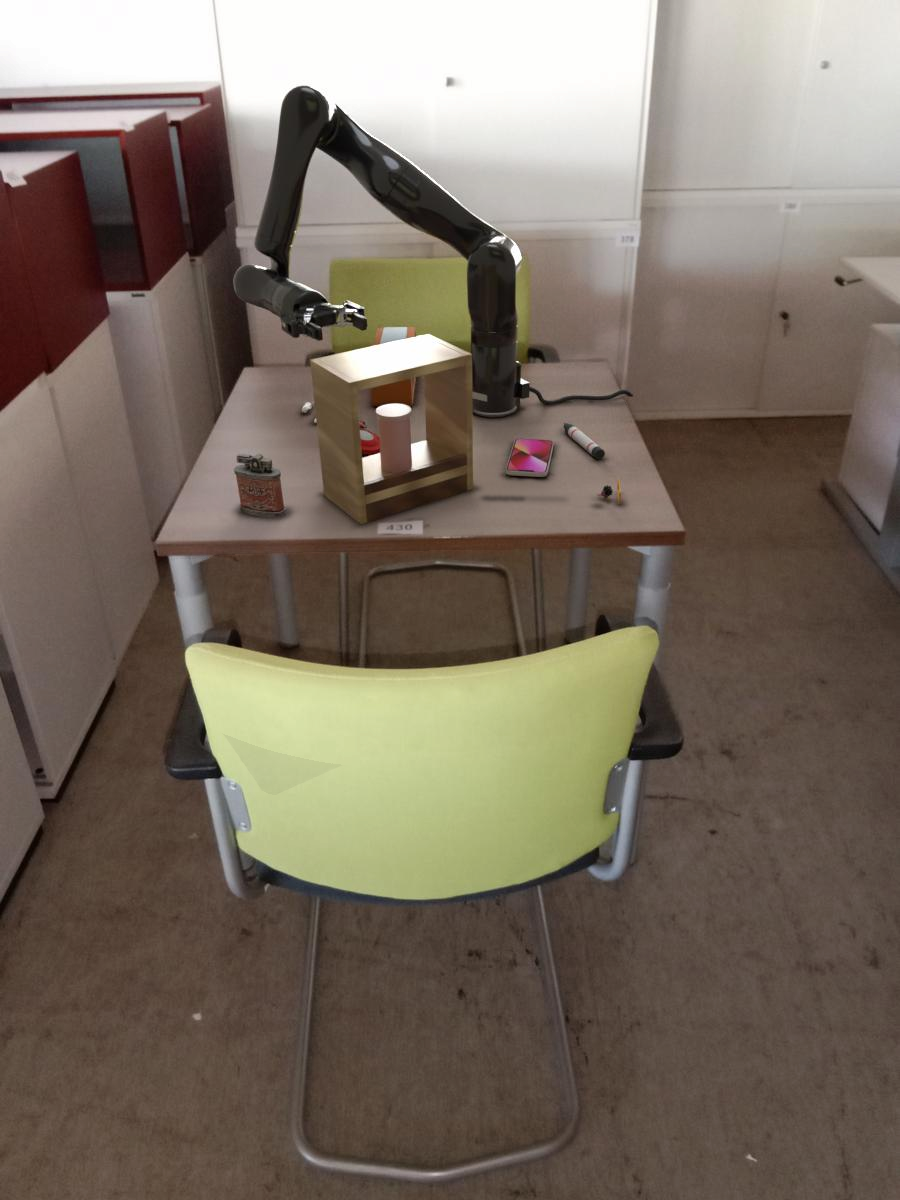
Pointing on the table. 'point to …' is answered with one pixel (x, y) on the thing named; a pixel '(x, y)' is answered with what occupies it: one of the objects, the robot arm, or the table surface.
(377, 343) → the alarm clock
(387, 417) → the lidded canister
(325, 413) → the shelf
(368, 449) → the tracker holder
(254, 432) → the table surface
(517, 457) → the smartphone
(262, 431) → the table surface
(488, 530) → the table surface
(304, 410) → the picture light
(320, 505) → the table surface
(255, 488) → the lighter
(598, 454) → the marker
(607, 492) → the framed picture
